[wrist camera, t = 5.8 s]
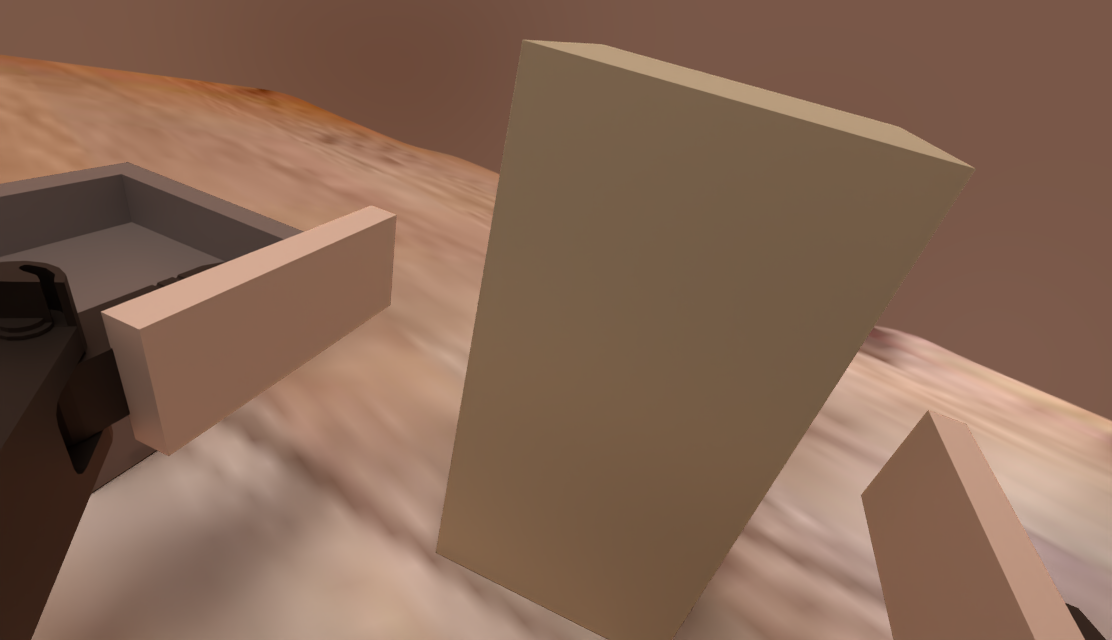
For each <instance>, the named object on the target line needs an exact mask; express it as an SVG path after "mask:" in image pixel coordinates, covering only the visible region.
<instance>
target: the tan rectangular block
mask: <svg viewBox="0 0 1112 640" xmlns="http://www.w3.org/2000/svg"><path fill="white" fill-rule="evenodd" d="M974 171H975V168H974V167H972V166H970V165H968V164H966V163H964V162H962V161H961V160H959V159H957V158H955V157H953V156H951V155H950V154H948V153H946V152H944V151H942V150H941V149H939V148H937V147H935V146H933V145H931V144H929V143H928V142H926V141H924V140H922V139H920V138H918V137H917V136H915V135H913V134H911V133H909V132H908V131H906V130H904V129H902V128H900V127H898V126H894V125H890V124H887V123H883V122H879V121H876V120H873V119H869V118H865V117H862V116H858V115H855V114H851V113H847V112H844V111H840V110H837V109H833V108H829V107H826V106H822V105H818V104H815V103H811V102H808V101H804V100H801V99H797V98H793V97H790V96H786V95H783V94H779V93H775V92H772V91H768V90H765V89H761V88H757V87H754V86H750V85H747V84H743V83H739V82H736V81H732V80H728V79H725V78H721V77H718V76H714V75H710V74H707V73H703V72H700V71H696V70H692V69H689V68H685V67H681V66H678V65H675V64H671V63H667V62H664V61H660V60H656V59H653V58H649V57H646V56H642V55H639V54H635V53H631V52H628V51H624V50H621V49H617V48H613V47H609V46H606V45H603V44H585V43H569V42H552V41H534V40H523V41H522V47H521V53H520V59H519V65H518V71H517V77H516V83H515V88H514V94H513V100H512V107H511V113H510V118H509V124H508V130H507V136H506V142H505V147H504V153H503V159H502V166H501V171H500V177H499V183H498V189H497V195H496V201H495V206H494V212H493V218H492V224H491V230H490V236H489V242H488V248H487V254H486V260H485V265H484V271H483V277H482V283H481V289H480V295H479V301H478V307H477V313H476V319H475V324H474V330H473V336H472V342H471V348H470V354H469V360H468V366H467V372H466V378H465V383H464V389H463V395H462V401H461V407H460V413H459V419H458V425H457V431H456V437H455V442H454V448H453V454H452V460H451V466H450V472H449V478H448V484H447V490H446V496H445V501H444V507H443V513H442V519H441V525H440V531H439V537H438V543H437V549H436V553H438V554H440V555H442V556H444V557H446V558H448V559H450V560H452V561H454V562H456V563H458V564H460V565H462V566H464V567H466V568H468V569H470V570H472V571H474V572H476V573H478V574H480V575H482V576H484V577H486V578H488V579H490V580H492V581H494V582H495V583H497V584H499V585H501V586H503V587H505V588H507V589H509V590H511V591H513V592H515V593H517V594H519V595H521V596H523V597H525V598H527V599H529V600H531V601H533V602H535V603H537V604H539V605H541V606H543V607H545V608H547V609H549V610H551V611H553V612H555V613H557V614H559V615H561V616H563V617H565V618H567V619H569V620H571V621H573V622H575V623H577V624H579V625H581V626H583V627H585V628H587V629H589V630H591V631H593V632H595V633H597V634H599V635H601V636H603V637H605V638H607V639H608V640H672V639H673V637H674V636H675V634H676V633H677V631H678V629H679V628H680V626H681V625H682V623H683V622H684V620H685V619H686V617H687V616H688V614H689V612H690V611H691V609H692V608H693V606H694V605H695V603H696V602H697V600H698V598H699V597H700V595H701V594H702V592H703V591H704V589H705V588H706V586H707V585H708V583H709V581H710V580H711V578H712V577H713V575H714V574H715V572H716V571H717V569H718V567H719V566H720V564H721V563H722V561H723V560H724V558H725V557H726V555H727V554H728V552H729V550H730V549H731V547H732V546H733V544H734V543H735V541H736V540H737V538H738V536H739V535H740V533H741V532H742V530H743V529H744V527H745V526H746V524H747V523H748V521H749V519H750V518H751V516H752V515H753V513H754V512H755V510H756V509H757V507H758V505H759V504H760V502H761V501H762V499H763V498H764V496H765V495H766V493H767V492H768V490H769V488H770V487H771V485H772V484H773V482H774V481H775V479H776V478H777V476H778V474H779V473H780V471H781V470H782V468H783V467H784V465H785V464H786V462H787V461H788V459H789V457H790V456H791V454H792V453H793V451H794V450H795V448H796V447H797V445H798V443H799V442H800V440H801V439H802V437H803V436H804V434H805V433H806V431H807V430H808V428H809V426H810V425H811V423H812V422H813V420H814V419H815V417H816V416H817V414H818V412H819V411H820V409H821V408H822V406H823V405H824V403H825V402H826V400H827V399H828V397H829V395H830V394H831V392H832V391H833V389H834V388H835V386H836V385H837V383H838V381H839V380H840V378H841V377H842V375H843V374H844V372H845V371H846V369H847V368H848V366H849V364H850V363H851V361H852V360H853V358H854V357H855V355H856V354H857V352H858V350H859V349H860V347H861V346H862V344H863V343H864V341H865V340H866V338H867V337H868V335H869V333H870V332H871V330H872V329H873V327H874V326H875V324H876V322H877V321H878V319H879V318H880V316H881V315H882V313H883V312H884V310H885V308H886V307H887V306H888V304H889V302H890V301H891V299H892V298H893V296H894V295H895V293H896V291H897V290H898V288H899V287H900V285H901V284H902V282H903V281H904V279H905V277H906V276H907V275H908V273H909V271H910V270H911V268H912V267H913V265H914V264H915V262H916V261H917V259H918V257H919V256H920V254H921V253H922V251H923V250H924V248H925V247H926V245H927V244H928V242H929V240H930V239H931V237H932V236H933V234H934V233H935V231H936V230H937V228H938V227H939V225H940V223H941V222H942V220H943V218H944V217H945V216H946V214H947V212H948V211H949V209H950V208H951V206H952V205H953V203H954V202H955V200H956V199H957V197H958V196H959V194H960V192H961V191H962V189H963V188H964V186H965V185H966V183H967V182H968V180H969V178H970V177H971V175H972V174H973V172H974Z"/></svg>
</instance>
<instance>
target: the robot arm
mask: <svg viewBox="0 0 1112 640" xmlns="http://www.w3.org/2000/svg"><path fill="white" fill-rule="evenodd" d="M395 229H396V214H393V213H390V212H388V211H385V210H382V209H380V208H377V207H374V206H368V207H366V208H363V209H361V210H358V211H356V212H353V213H351V214H348V215H345V216H343V217H340V218H338V219H335V220H333V221H330V222H328V223H325V224H323V225H320V226H318V227H315V228H312V229H310V230H307V231H305V232H302V233H300V234H297V235H295V236H292V237H290V238H287V239H284V240H282V241H279V242H277V243H274V244H272V245H269V246H267V247H264V248H262V249H259V250H256V251H254V252H251V253H249V254H246V255H244V256H241V257H239V258H236V259H234V260H231V261H225V262H220V263H214V264H208V265H202V266H199V267H197V268H194V269H192V270H189V271H186V272H184V273H181V274H179V275H177V277H176V278H174V277H171V278H168V279H165V280H163V281H160V282H158V283H157V285H156V286H154V285H150V286H147V287H144V288H142V289H139V290H137V291H134V292H131V293H129V294H126V295H124V296H121V297H118V298H116V299H113V300H110V301H108V302H105V303H103V304H100V305H97V306H95V307H92V308H90V309H87V310H84V311H82V312H79V313H77V309H76V306H75V303H74V299H73V296H72V293H71V289H70V286H69V283H68V279H67V276H66V274H65V273H64V272H63V271H62V270H61V269H60V268H59V267H56V266H54V265H51V264H48V263H43V262H33V261H6V262H0V640H31V639H32V636H33V634H34V631H35V629H36V626H37V624H38V622H39V619H40V617H41V614H42V612H43V609H44V607H45V604H46V602H47V600H48V597H49V595H50V592H51V590H52V587H53V585H54V583H55V580H56V578H57V575H58V573H59V570H60V568H61V566H62V563H63V561H64V558H65V556H66V553H67V551H68V549H69V546H70V544H71V541H72V539H73V536H74V534H75V532H76V529H77V527H78V524H79V522H80V519H81V517H82V515H83V512H84V510H85V507H86V505H87V502H88V500H89V498H90V495H91V493H92V490H93V488H94V485H95V483H96V480H97V478H98V476H99V473H100V471H101V468H102V466H103V463H104V461H105V459H106V456H107V454H108V451H109V449H110V446H111V444H112V442H113V430H112V426H111V425H112V424H114V423H116V422H117V421H119V420H121V419H123V418H124V417H126V416H128V415H129V417H130V421H131V425H132V428H133V432H134V436H135V439H136V440H138V441H140V442H142V443H144V444H146V445H148V446H150V447H152V448H153V449H155V450H157V451H159V452H161V453H163V454H165V455H167V456H170V455H171V454H173V453H174V452H176V451H177V450H178V449H180V448H181V447H183V446H184V445H186V444H187V443H189V442H190V441H192V440H193V439H195V438H196V437H198V436H199V435H200V434H202V433H203V432H205V431H206V430H208V429H209V428H211V427H212V426H214V425H215V424H217V423H218V422H220V421H221V420H222V419H224V418H225V417H227V416H228V415H230V414H231V413H233V412H234V411H236V410H237V409H239V408H240V407H242V406H243V405H244V404H246V403H247V402H249V401H250V400H252V399H253V398H255V397H256V396H258V395H259V394H261V393H262V392H264V391H265V390H266V389H268V388H269V387H271V386H272V385H274V384H275V383H277V382H278V381H280V380H281V379H283V378H284V377H286V376H287V375H288V374H290V373H291V372H293V371H294V370H296V369H297V368H299V367H300V366H302V365H303V364H305V363H306V362H307V361H309V360H310V359H312V358H313V357H315V356H316V355H318V354H319V353H321V352H322V351H324V350H325V349H327V348H328V347H329V346H331V345H332V344H334V343H335V342H337V341H338V340H340V339H341V338H343V337H344V336H346V335H347V334H349V333H350V332H351V331H353V330H354V329H356V328H357V327H359V326H360V325H362V324H363V323H365V322H366V321H368V320H369V319H371V318H372V317H373V316H375V315H376V314H378V313H379V312H381V311H382V310H384V309H385V308H387V307H388V306H390V304H391V289H392V274H393V259H394V244H395ZM861 497H862V502H863V506H864V511H865V515H866V520H867V524H868V528H869V533H870V537H871V542H872V546H873V551H874V555H875V560H876V564H877V568H878V573H879V577H880V582H881V586H882V591H883V595H884V600H885V604H886V608H887V613H888V617H889V622H890V626H891V631H892V635H893V640H1106V639H1105V638H1104V637H1103V636H1102V635H1101V633H1100V632H1099V631H1098V630H1097V629H1096V628H1095V627H1094V626H1093V624H1092V623H1091V622H1090V621H1089V620H1088V619H1087V618H1086V616H1085V615H1084V614H1083V613H1082V612H1081V611H1080V610H1079V609H1078V608H1076V607H1074V606H1071V605H1069V604H1067V603H1065V602H1064V601H1063V599H1062V597H1061V595H1060V593H1059V592H1058V590H1057V588H1056V586H1055V584H1054V582H1053V581H1052V579H1051V577H1050V575H1049V573H1048V572H1047V570H1046V568H1045V566H1044V564H1043V563H1042V561H1041V559H1040V557H1039V555H1038V553H1037V552H1036V550H1035V548H1034V546H1033V544H1032V543H1031V541H1030V539H1029V537H1028V535H1027V533H1026V532H1025V530H1024V528H1023V526H1022V524H1021V523H1020V521H1019V519H1018V517H1017V515H1016V513H1015V512H1014V510H1013V508H1012V506H1011V504H1010V503H1009V501H1008V499H1007V497H1006V495H1005V494H1004V492H1003V490H1002V488H1001V486H1000V484H999V483H998V481H997V479H996V477H995V475H994V474H993V472H992V470H991V468H990V466H989V464H988V463H987V461H986V459H985V457H984V455H983V454H982V452H981V450H980V448H979V446H978V444H977V443H976V441H975V439H974V437H973V435H972V434H971V432H970V430H969V428H968V426H967V425H966V424H965V423H962V422H959V421H957V420H954V419H951V418H948V417H946V416H943V415H940V414H938V413H935V412H932V411H929V410H928V411H927V412H926V413H925V415H924V416H923V417H922V419H921V420H920V421H919V422H918V424H917V425H916V426H915V427H914V429H913V430H912V431H911V432H910V434H909V435H908V436H907V438H906V439H905V440H904V441H903V443H902V444H901V445H900V446H899V448H898V449H897V450H896V452H895V453H894V454H893V455H892V457H891V458H890V459H889V460H888V462H887V463H886V464H885V465H884V467H883V468H882V469H881V471H880V472H879V473H878V474H877V476H876V477H875V478H874V479H873V481H872V482H871V483H870V484H869V486H868V487H867V488H866V490H865V491H864V492H863V493H862V495H861Z"/></svg>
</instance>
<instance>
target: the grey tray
mask: <svg viewBox="0 0 1112 640" xmlns="http://www.w3.org/2000/svg"><path fill="white" fill-rule="evenodd" d="M302 232H304V231H301V230H298V229H296V228H293V227H291V226H288V225H286V224H283V223H281V222H278V221H276V220H273V219H271V218H268V217H266V216H263V215H261V214H258V213H255V212H253V211H250V210H248V209H245V208H243V207H240V206H238V205H235V204H233V203H230V202H228V201H225V200H223V199H220V198H217V197H215V196H212V195H210V194H207V193H205V192H202V191H200V190H197V189H195V188H192V187H190V186H187V185H185V184H182V183H179V182H177V181H174V180H172V179H169V178H167V177H164V176H162V175H159V174H157V173H154V172H152V171H149V170H147V169H144V168H141V167H139V166H136V165H134V164H131V163H129V162H126V163H120V164H114V165H109V166H103V167H97V168H91V169H85V170H79V171H73V172H68V173H62V174H56V175H50V176H44V177H38V178H32V179H26V180H21V181H15V182H9V183H3V184H0V262H6V261H33V262H43V263H48V264H51V265H54V266H56V267H59V268H60V269H61V270H62V271H63V272H64V273H65V274H66V276H67V279H68V283H69V286H70V289H71V293H72V296H73V299H74V303H75V306H76V309H77V313H79V312H82V311H84V310H87V309H90V308H92V307H95V306H97V305H100V304H103V303H105V302H108V301H110V300H113V299H116V298H118V297H121V296H124V295H126V294H129V293H131V292H134V291H137V290H139V289H142V288H144V287H147V286H150V285H154V286H156V285H157V283H158V282H160V281H163V280H165V279H168V278H171V277H174V278H176V277H177V275H179V274H181V273H184V272H186V271H189V270H192V269H194V268H197V267H199V266H202V265H208V264H214V263H220V262H225V261H231V260H234V259H236V258H239V257H241V256H244V255H246V254H249V253H251V252H254V251H256V250H259V249H262V248H264V247H267V246H269V245H272V244H274V243H277V242H279V241H282V240H284V239H287V238H290V237H292V236H295V235H297V234H300V233H302ZM111 426H112V430H113V442H112V444H111V446H110V449H109V451H108V454H107V456H106V459H105V461H104V463H103V466H102V468H101V471H100V473H99V476H98V478H97V480H96V483H95V485H94V488H93V490H92V492H93V491H95V490H96V489H98V488H99V487H101V486H103V485H104V484H106V483H107V482H109V481H110V480H112V479H113V478H115V477H116V476H118V475H119V474H121V473H123V472H124V471H126V470H127V469H129V468H130V467H132V466H133V465H135V464H136V463H138V462H139V461H141V460H142V459H144V458H146V457H147V456H149V455H150V454H152V453H153V452H155V451H156V450H155V449H153V448H152V447H150V446H148V445H146V444H144V443H142V442H140V441H138V440H136V439H135V436H134V432H133V428H132V425H131V421H130V417H129V415H128V416H126V417H124V418H123V419H121V420H119V421H117V422H116V423H114V424H112V425H111Z"/></svg>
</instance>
